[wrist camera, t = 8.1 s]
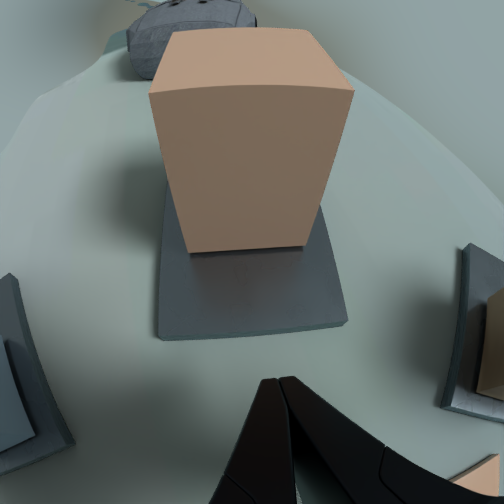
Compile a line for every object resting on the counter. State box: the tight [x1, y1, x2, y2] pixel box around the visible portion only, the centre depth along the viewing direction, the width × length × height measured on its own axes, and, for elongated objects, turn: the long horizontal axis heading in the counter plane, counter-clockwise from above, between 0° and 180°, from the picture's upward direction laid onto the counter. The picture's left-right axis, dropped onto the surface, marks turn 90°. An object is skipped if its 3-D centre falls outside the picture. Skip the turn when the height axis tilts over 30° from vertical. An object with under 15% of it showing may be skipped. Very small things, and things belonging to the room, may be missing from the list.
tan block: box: [148, 27, 355, 253], centre depth 13 cm, size 6×6×9 cm
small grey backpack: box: [126, 0, 257, 79], centre depth 28 cm, size 15×8×20 cm
